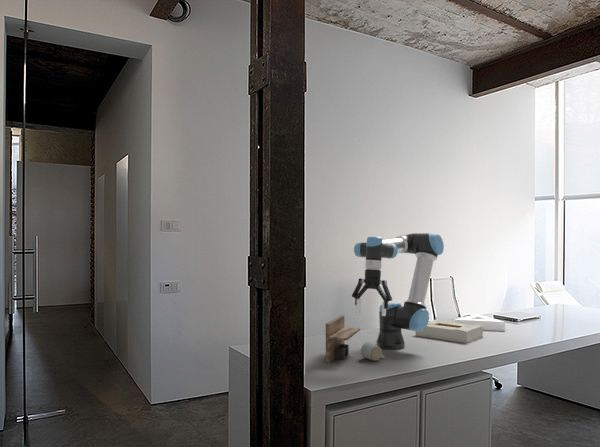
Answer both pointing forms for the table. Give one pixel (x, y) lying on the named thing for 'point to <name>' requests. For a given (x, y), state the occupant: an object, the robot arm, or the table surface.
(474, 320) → the triangle block
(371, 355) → the ceramic mug
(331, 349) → the walnut shelf
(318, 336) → the table surface
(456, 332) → the box
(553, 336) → the table surface
